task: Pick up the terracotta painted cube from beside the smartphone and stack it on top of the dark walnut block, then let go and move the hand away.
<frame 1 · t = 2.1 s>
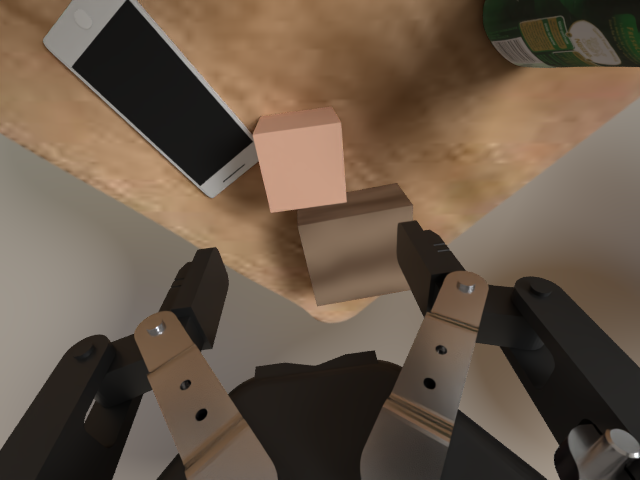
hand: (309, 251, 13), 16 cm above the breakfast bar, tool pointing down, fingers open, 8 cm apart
terracotta cube: (301, 146, 27), on the breakfast bar
walnut block: (351, 232, 32), on the breakfast bar
smartphone: (171, 102, 24), on the breakfast bar
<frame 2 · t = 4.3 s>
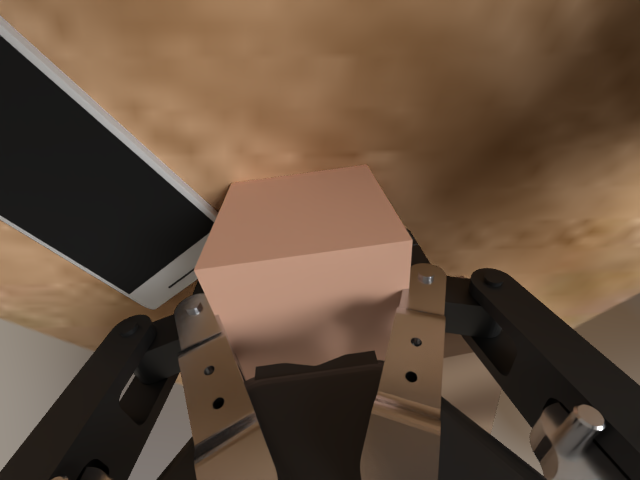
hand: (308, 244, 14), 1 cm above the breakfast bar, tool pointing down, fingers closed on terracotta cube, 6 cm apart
terracotta cube: (308, 230, 15), on the breakfast bar, touching gripper
walnut block: (384, 341, 21), on the breakfast bar
smartphone: (56, 157, 12), on the breakfast bar
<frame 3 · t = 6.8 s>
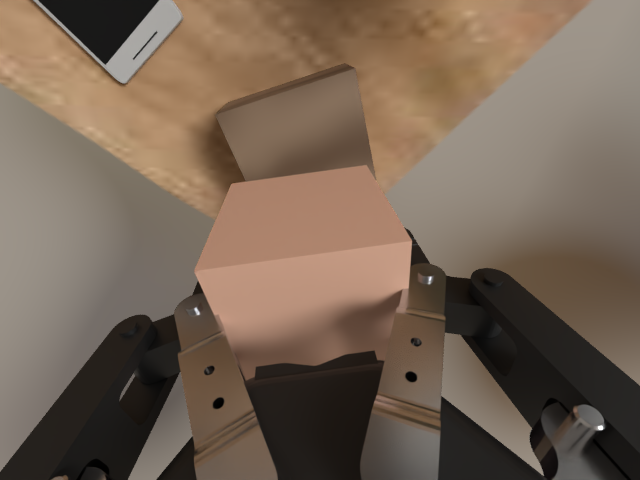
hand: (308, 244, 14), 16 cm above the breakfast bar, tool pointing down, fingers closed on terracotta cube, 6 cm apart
terracotta cube: (308, 231, 15), point 15 cm above the breakfast bar, touching gripper
walnut block: (303, 142, 27), on the breakfast bar
when the fingers open (8 cm above the breakfast bar, at t = 9.2 s): terracotta cube drops 2 cm, resting on walnut block.
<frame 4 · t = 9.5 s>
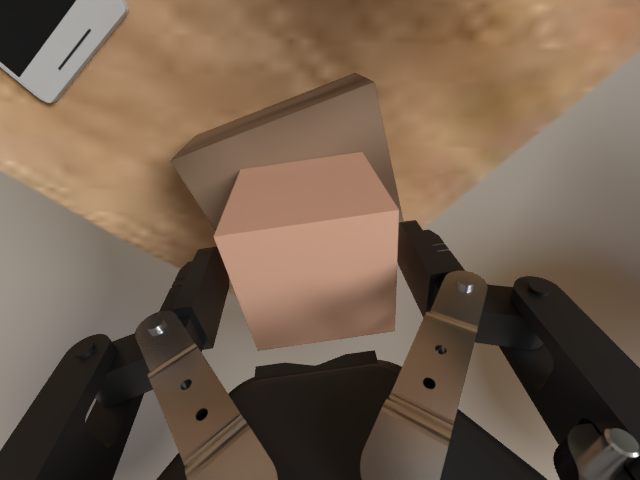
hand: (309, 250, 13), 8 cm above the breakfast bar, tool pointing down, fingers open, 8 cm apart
terracotta cube: (309, 214, 16), point 5 cm above the breakfast bar, touching walnut block
walnut block: (303, 178, 20), on the breakfast bar, touching terracotta cube
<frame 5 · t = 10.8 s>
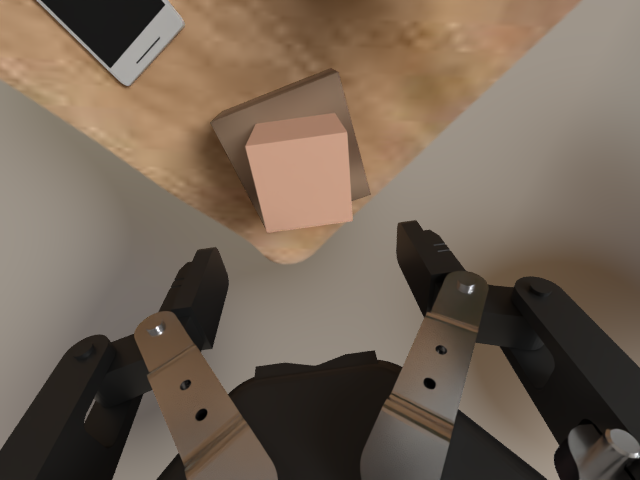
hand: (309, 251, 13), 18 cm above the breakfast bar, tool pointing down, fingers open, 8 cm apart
terracotta cube: (301, 157, 24), point 5 cm above the breakfast bar, touching walnut block
walnut block: (296, 144, 28), on the breakfast bar, touching terracotta cube
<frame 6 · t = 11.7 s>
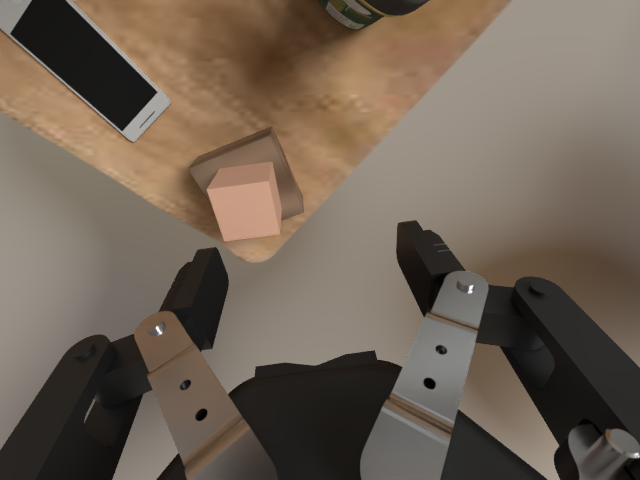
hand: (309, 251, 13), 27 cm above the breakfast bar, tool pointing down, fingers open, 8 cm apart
terracotta cube: (252, 189, 35), point 5 cm above the breakfast bar, touching walnut block
walnut block: (253, 176, 39), on the breakfast bar, touching terracotta cube
smartphone: (91, 62, 32), on the breakfast bar
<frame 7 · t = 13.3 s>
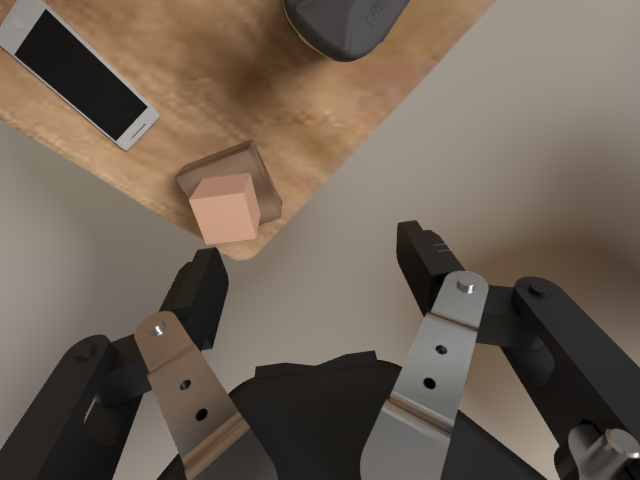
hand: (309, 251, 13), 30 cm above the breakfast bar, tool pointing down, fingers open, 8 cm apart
terracotta cube: (232, 197, 39), point 5 cm above the breakfast bar
walnut block: (236, 183, 43), on the breakfast bar
coffee jar: (328, 0, 32), on the breakfast bar
smartphone: (87, 79, 35), on the breakfast bar
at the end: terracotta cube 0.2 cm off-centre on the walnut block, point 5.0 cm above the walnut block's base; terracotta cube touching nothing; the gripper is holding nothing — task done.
